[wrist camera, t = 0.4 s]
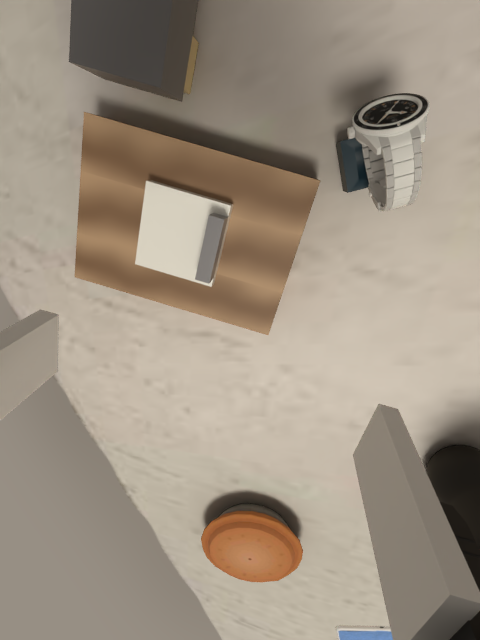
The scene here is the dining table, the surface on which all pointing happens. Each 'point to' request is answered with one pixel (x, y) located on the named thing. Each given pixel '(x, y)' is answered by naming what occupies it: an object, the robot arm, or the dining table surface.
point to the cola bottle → (458, 482)
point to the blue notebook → (363, 632)
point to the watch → (385, 150)
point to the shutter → (182, 232)
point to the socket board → (202, 178)
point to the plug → (136, 43)
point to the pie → (252, 544)
